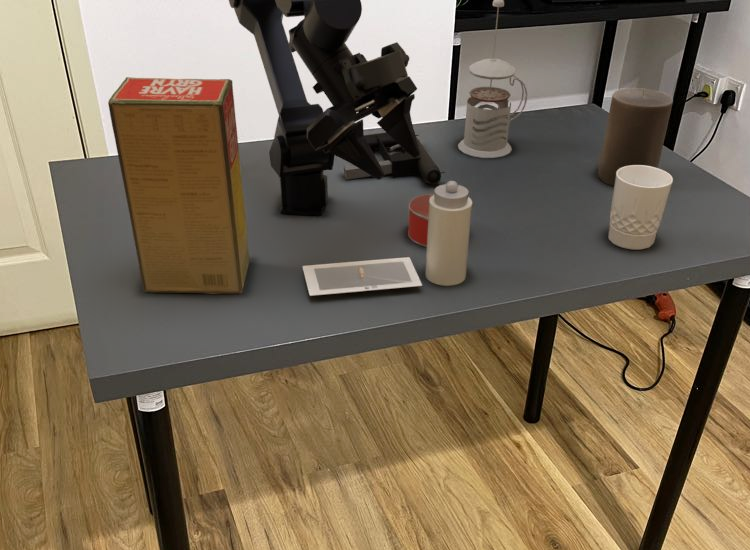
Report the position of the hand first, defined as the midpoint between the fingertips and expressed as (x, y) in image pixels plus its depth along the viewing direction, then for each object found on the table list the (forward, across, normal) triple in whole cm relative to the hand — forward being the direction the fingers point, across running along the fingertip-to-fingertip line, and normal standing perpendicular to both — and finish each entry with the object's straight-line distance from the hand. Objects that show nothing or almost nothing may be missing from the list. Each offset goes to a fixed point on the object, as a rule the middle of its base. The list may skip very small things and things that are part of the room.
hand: (400, 166), depth 109 cm
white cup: (+28, +24, -10) cm, 38 cm away
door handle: (-3, +27, +22) cm, 35 cm away
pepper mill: (+15, 0, +4) cm, 16 cm away
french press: (+4, +45, +14) cm, 48 cm away
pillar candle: (+22, +46, -4) cm, 51 cm away
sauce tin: (+10, +10, +8) cm, 16 cm away
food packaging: (-4, -19, +24) cm, 31 cm away
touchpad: (+10, -8, +10) cm, 16 cm away
